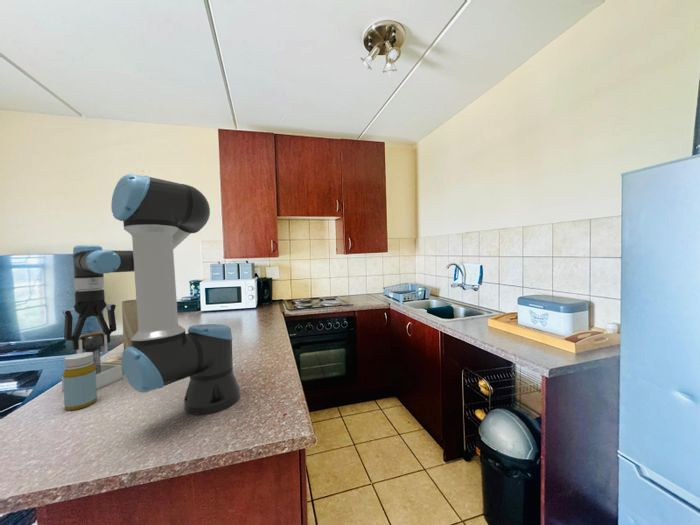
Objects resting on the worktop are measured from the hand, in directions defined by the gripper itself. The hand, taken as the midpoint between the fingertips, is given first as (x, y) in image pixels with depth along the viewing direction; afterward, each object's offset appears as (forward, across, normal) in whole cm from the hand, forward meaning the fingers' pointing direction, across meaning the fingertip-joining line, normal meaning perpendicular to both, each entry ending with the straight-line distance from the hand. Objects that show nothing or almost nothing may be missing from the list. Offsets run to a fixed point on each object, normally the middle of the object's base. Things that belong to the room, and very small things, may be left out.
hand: (92, 355), depth 97 cm
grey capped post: (+8, 0, 0) cm, 8 cm away
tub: (+10, 0, 0) cm, 10 cm away
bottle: (+11, -8, -14) cm, 19 cm away
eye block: (+10, +13, +7) cm, 18 cm away
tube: (+10, +23, +22) cm, 34 cm away
